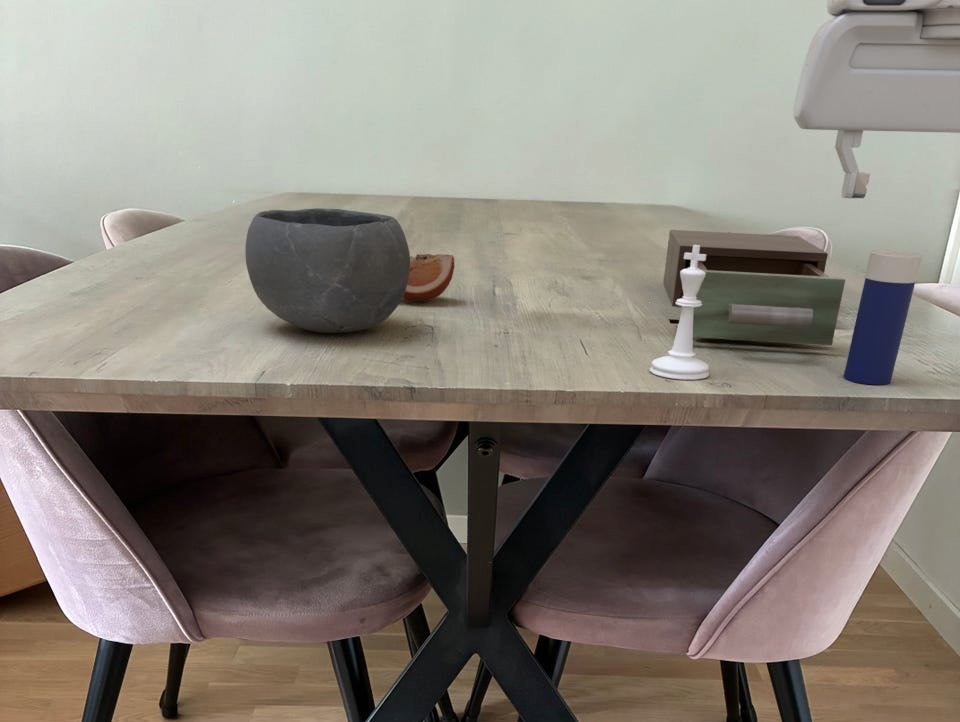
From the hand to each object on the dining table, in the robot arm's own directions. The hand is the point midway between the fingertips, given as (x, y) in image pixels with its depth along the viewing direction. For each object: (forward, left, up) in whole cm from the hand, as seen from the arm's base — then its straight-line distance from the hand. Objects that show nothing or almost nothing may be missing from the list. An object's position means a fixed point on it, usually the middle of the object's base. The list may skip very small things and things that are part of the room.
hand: (914, 199), depth 74 cm
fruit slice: (+43, -25, -14) cm, 52 cm away
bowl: (+48, -7, -14) cm, 51 cm away
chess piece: (+16, +2, -14) cm, 22 cm away
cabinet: (+8, -28, -14) cm, 32 cm away
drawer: (+8, -14, -13) cm, 21 cm away
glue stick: (0, 0, -14) cm, 14 cm away
